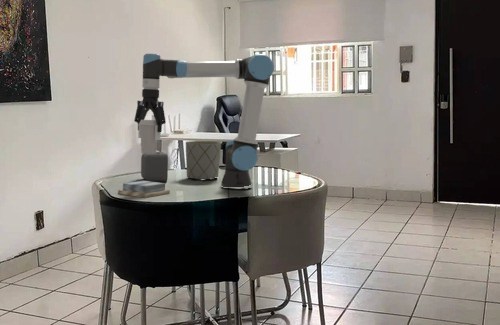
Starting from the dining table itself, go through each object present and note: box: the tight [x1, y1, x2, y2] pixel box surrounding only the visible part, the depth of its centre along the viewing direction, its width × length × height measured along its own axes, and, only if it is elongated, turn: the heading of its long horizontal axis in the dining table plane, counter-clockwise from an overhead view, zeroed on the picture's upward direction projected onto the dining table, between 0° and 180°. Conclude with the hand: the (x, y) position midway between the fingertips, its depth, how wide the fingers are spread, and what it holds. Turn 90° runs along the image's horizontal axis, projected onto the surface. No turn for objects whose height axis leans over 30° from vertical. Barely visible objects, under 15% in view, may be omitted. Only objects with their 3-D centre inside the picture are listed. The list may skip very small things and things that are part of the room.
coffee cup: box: [139, 119, 159, 154], centre depth 256 cm, size 10×10×15 cm
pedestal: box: [117, 180, 170, 199], centre depth 253 cm, size 16×16×4 cm
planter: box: [185, 140, 222, 180], centre depth 308 cm, size 19×19×20 cm
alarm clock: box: [140, 149, 169, 183], centre depth 295 cm, size 16×11×16 cm
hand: (149, 138), depth 256 cm, fingers closed on coffee cup, 9 cm apart
